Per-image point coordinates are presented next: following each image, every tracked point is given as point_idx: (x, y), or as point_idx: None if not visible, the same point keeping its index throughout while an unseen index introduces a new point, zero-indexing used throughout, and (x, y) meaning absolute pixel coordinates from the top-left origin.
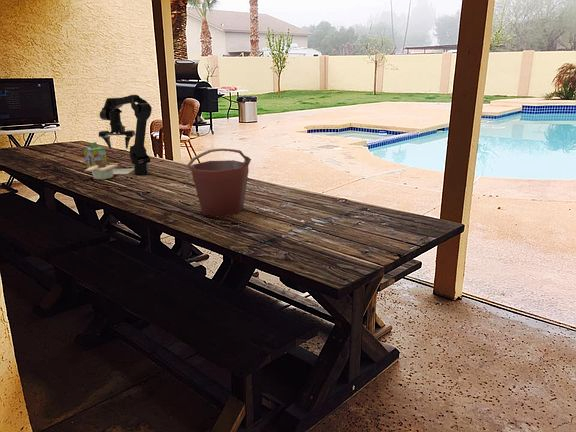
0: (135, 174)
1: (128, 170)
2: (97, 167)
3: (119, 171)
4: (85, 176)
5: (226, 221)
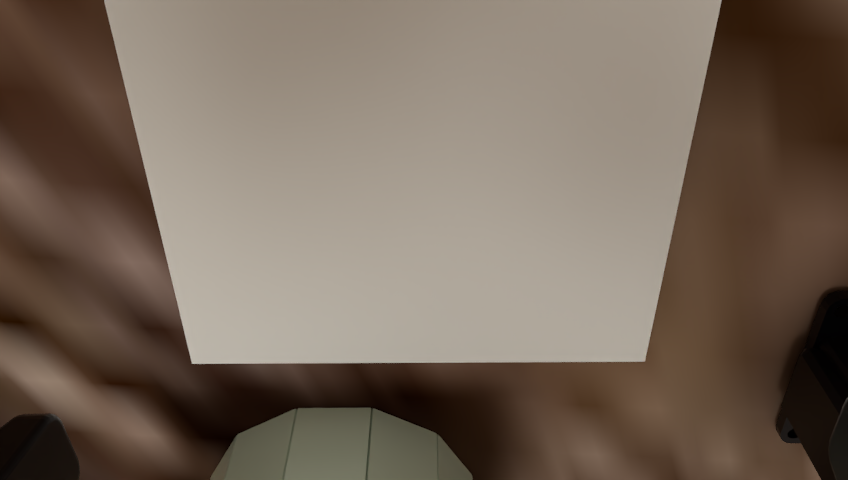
0: (789, 429)
1: (606, 103)
2: None
3: (441, 184)
4: None
5: None
